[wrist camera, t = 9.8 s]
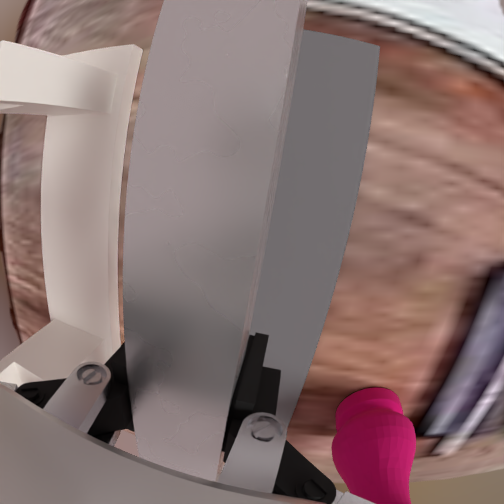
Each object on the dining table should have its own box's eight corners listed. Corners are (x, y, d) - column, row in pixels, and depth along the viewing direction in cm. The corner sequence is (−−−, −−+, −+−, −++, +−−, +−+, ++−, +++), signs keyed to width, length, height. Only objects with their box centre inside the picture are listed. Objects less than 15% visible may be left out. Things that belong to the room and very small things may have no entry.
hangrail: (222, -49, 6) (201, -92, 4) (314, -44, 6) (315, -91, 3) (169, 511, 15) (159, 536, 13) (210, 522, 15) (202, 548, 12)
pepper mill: (315, 422, 25) (302, 618, 6) (359, 372, 23) (385, 608, 4) (373, 439, 25) (388, 609, 6) (418, 393, 23) (470, 582, 4)
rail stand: (69, 59, 19) (-40, 34, 7) (143, 49, 18) (28, -9, 6) (65, 351, 28) (-3, 416, 16) (123, 376, 27) (59, 460, 16)
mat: (209, 25, 17) (207, 22, 17) (378, 48, 16) (379, 46, 16) (168, 405, 28) (166, 408, 27) (283, 433, 26) (283, 437, 26)
